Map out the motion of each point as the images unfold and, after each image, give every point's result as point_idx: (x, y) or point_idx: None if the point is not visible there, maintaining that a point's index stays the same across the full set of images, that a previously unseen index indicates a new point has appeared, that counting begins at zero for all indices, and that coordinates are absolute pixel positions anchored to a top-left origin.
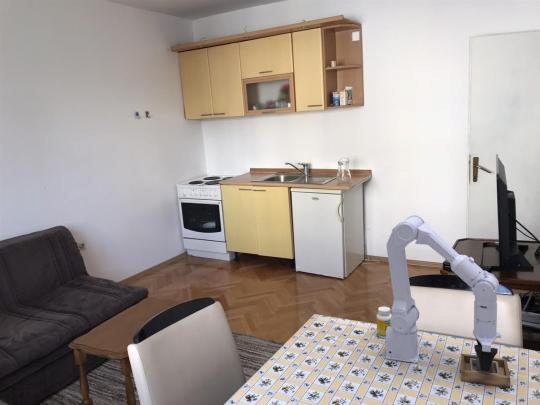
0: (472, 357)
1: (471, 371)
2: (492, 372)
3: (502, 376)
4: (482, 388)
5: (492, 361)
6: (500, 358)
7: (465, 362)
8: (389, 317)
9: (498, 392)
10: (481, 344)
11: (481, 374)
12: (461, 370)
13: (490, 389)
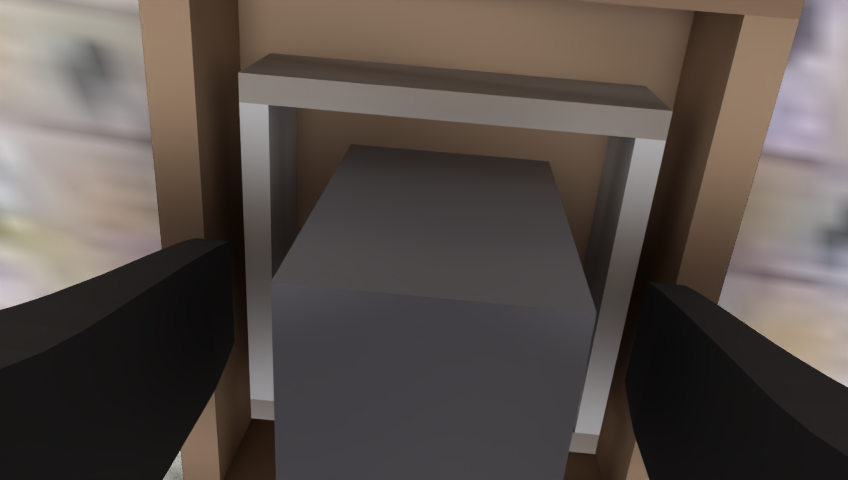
0: (222, 389)
1: (637, 465)
2: (556, 188)
3: (763, 88)
4: (753, 289)
5: (585, 277)
6: (142, 14)
7: (250, 404)
8: None
9: (843, 126)
10: (127, 466)
11: None
12: None
13: (773, 208)
